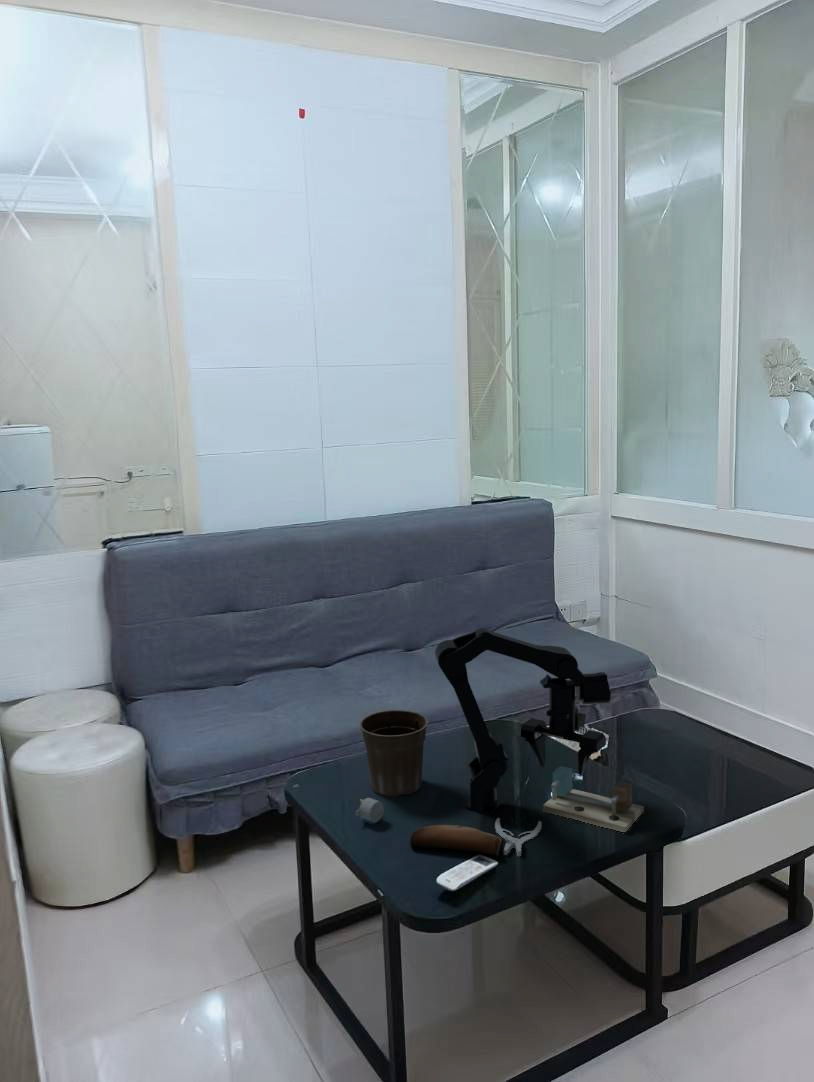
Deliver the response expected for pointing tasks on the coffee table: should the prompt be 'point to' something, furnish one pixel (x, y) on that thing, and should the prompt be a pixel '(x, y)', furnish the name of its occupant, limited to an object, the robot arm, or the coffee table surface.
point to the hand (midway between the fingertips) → (562, 770)
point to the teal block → (561, 782)
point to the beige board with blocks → (598, 807)
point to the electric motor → (370, 810)
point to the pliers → (515, 842)
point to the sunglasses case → (456, 838)
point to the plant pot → (394, 750)
